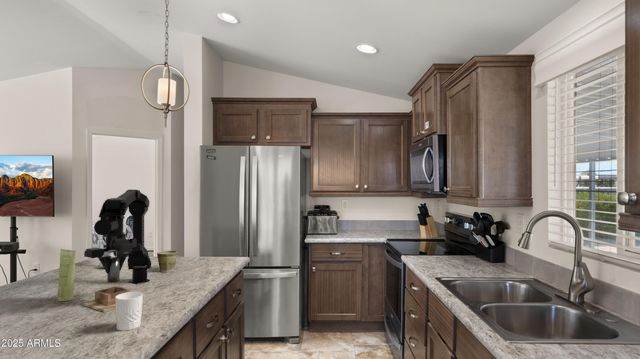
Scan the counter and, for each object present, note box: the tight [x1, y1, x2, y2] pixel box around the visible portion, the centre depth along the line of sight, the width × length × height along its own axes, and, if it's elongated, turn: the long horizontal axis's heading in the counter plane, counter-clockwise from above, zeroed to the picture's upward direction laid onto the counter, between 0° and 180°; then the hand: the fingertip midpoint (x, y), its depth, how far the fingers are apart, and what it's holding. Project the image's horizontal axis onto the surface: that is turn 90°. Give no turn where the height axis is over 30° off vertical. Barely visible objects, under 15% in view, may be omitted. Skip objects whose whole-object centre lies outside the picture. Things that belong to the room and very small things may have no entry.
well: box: [82, 285, 131, 313], centre depth 131 cm, size 14×14×5 cm
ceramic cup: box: [156, 249, 179, 274], centre depth 181 cm, size 13×10×10 cm
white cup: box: [115, 291, 144, 332], centre depth 110 cm, size 8×8×10 cm
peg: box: [106, 256, 121, 284], centre depth 131 cm, size 4×4×9 cm
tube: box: [57, 248, 76, 302], centre depth 134 cm, size 6×5×20 cm
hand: (113, 272), depth 131 cm, fingers closed on peg, 4 cm apart
